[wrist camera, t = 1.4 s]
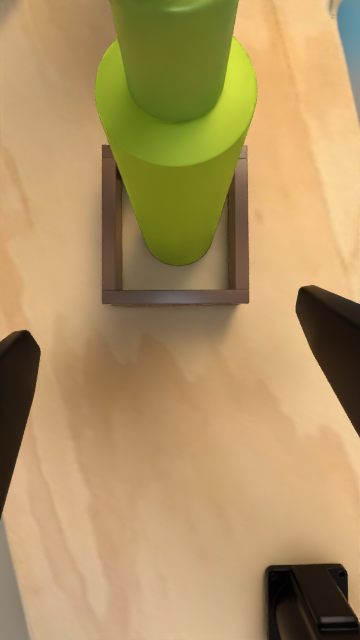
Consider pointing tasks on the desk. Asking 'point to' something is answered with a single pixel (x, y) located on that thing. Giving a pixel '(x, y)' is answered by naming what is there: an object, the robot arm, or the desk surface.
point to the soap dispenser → (176, 116)
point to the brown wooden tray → (120, 297)
